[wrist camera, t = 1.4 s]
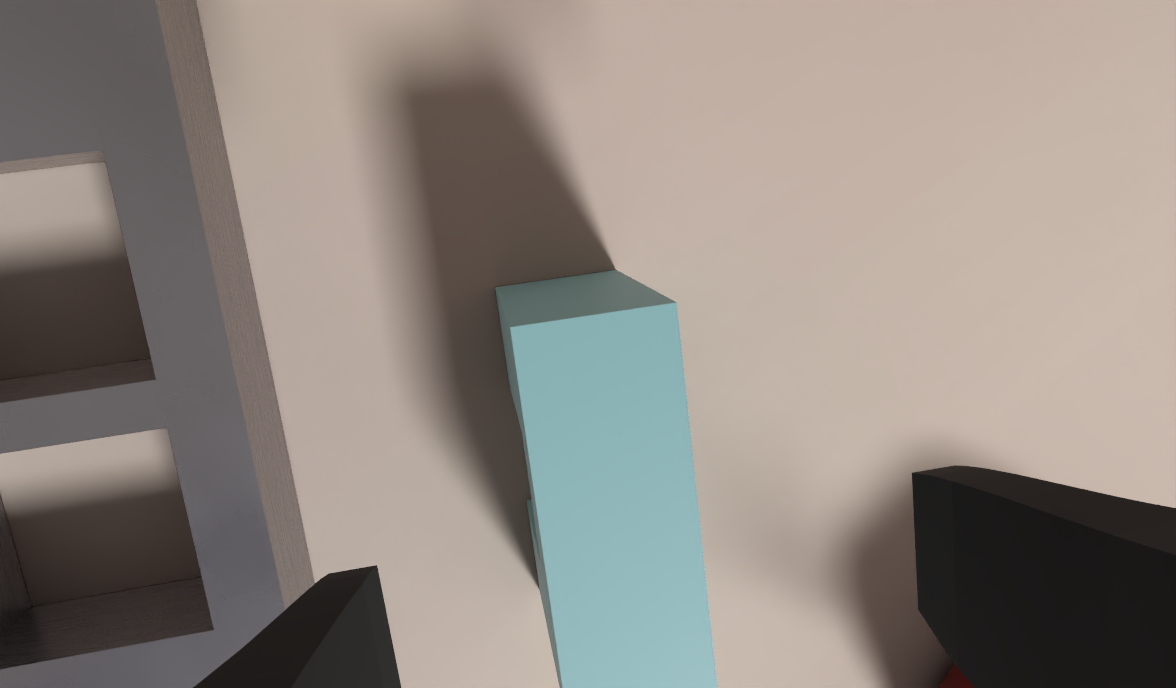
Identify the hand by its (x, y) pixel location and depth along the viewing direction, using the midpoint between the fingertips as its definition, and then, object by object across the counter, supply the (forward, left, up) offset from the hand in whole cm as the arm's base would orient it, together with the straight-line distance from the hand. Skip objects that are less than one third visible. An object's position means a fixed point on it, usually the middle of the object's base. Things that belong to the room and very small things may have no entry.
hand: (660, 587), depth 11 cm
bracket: (-1, 0, -11) cm, 11 cm away
